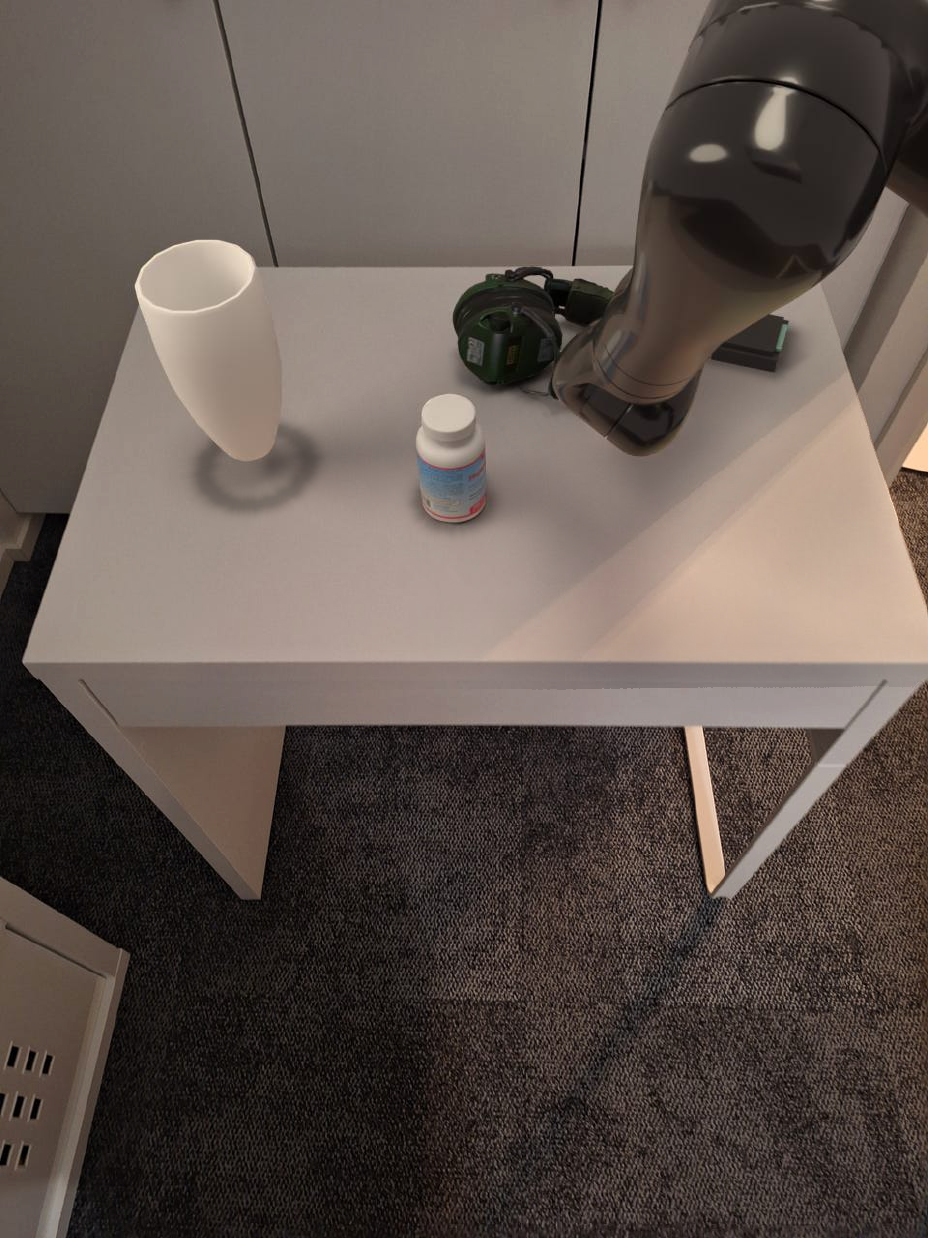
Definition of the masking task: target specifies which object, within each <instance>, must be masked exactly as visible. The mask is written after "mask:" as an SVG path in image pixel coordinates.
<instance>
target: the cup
mask: <svg viewBox="0 0 928 1238" xmlns="http://www.w3.org/2000/svg"><path fill="white" fill-rule="evenodd" d="M134 290H135V293H136V297H137V301H138V304H139V307H140V310H141V313H142V316H143V318H144V321H145V324H146V327H147V330H148V333H149V336H150V339H151V342H152V345H153V347H154V351H155V353H156V354H157V357H158V359H159V361H160V364H161V365H162V368H163V370H164V372H165V374H166V377H167V378H168V381H169V383H170V385H171V387H172V389H173V392H174V393H175V395H176V396H177V397H178V399H179V400H180V401H181V403H182V405H183V406H184V407H185V408H186V410H187V412H188V413H189V414H190V415H191V417H192V419H193V420H194V422H195V423H196V424H197V425H198V426H199V428H200V429H202V431H203V432H204V433H205V434H206V435H207V436H208V437H209V438H210V439H211V440H212V441H213V442H214V444H215V445H217V446H218V447H219V448H220V449H221V450H222V451H223V452H224V453H226V454H227V455H228V456H230V458H232V459H234V460H237V461H240V462H252V461H253V462H254V461H256V460H260V459H262V458H263V457H265V456H266V455H268V454H269V453H270V451H272V449H273V448H274V443H275V440H276V438H277V434H278V430H279V425H280V416H281V412H282V411H281V410H282V403H283V371H282V369H283V367H282V366H283V364H282V357H281V353H280V348H279V343H278V342H279V341H278V338H277V333H276V328H275V327H276V326H275V323H274V322H275V321H274V318H273V315H272V312H271V309H270V306H269V305H270V304H269V302H268V299H267V296H266V291H265V288H264V285H263V281H262V279H261V275H260V272H259V269H258V266H257V263H256V261H255V258H254V256H253V255H251V254H250V253H248V252H247V251H246V250H244V249H243V248H242V247H241V246H239V245H238V244H235V243H231V242H228V241H224V240H220V239H194V240H191V241H187V242H182V243H178V244H174V245H172V246H169V247H168V248H166V249H164V250H162V251H159V252H158V253H155V254H154V255H153V256H152V257H151V258H150V259H149V260H148V261H147V262H146V263H145V264H144V265H143V266H142V267H141V268H140V271H139V273H138V275H137V278H136V281H135V284H134Z"/></svg>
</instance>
